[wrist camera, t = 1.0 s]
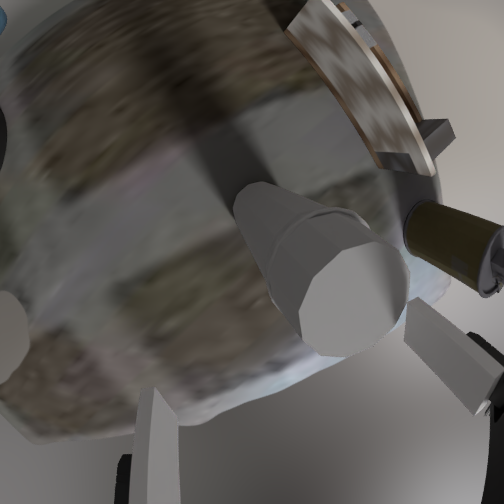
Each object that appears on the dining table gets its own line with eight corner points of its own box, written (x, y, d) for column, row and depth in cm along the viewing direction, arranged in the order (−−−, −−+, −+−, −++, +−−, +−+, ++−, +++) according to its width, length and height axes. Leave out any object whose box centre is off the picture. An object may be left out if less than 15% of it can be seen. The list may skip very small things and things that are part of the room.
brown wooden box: (283, 32, 28) (314, -7, 17) (333, 11, 27) (371, -22, 16) (378, 168, 37) (431, 176, 26) (416, 136, 36) (468, 138, 25)
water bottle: (219, 219, 35) (253, 341, 12) (252, 167, 34) (357, 191, 11) (276, 253, 38) (372, 382, 15) (308, 205, 37) (449, 282, 13)
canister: (394, 226, 40) (489, 274, 22) (430, 187, 39) (524, 215, 21) (416, 269, 44) (494, 321, 26) (448, 231, 43) (527, 269, 24)
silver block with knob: (272, -6, 24) (292, -41, 15) (302, -17, 24) (326, -49, 15) (336, 65, 29) (373, 45, 20) (362, 52, 29) (400, 33, 20)
